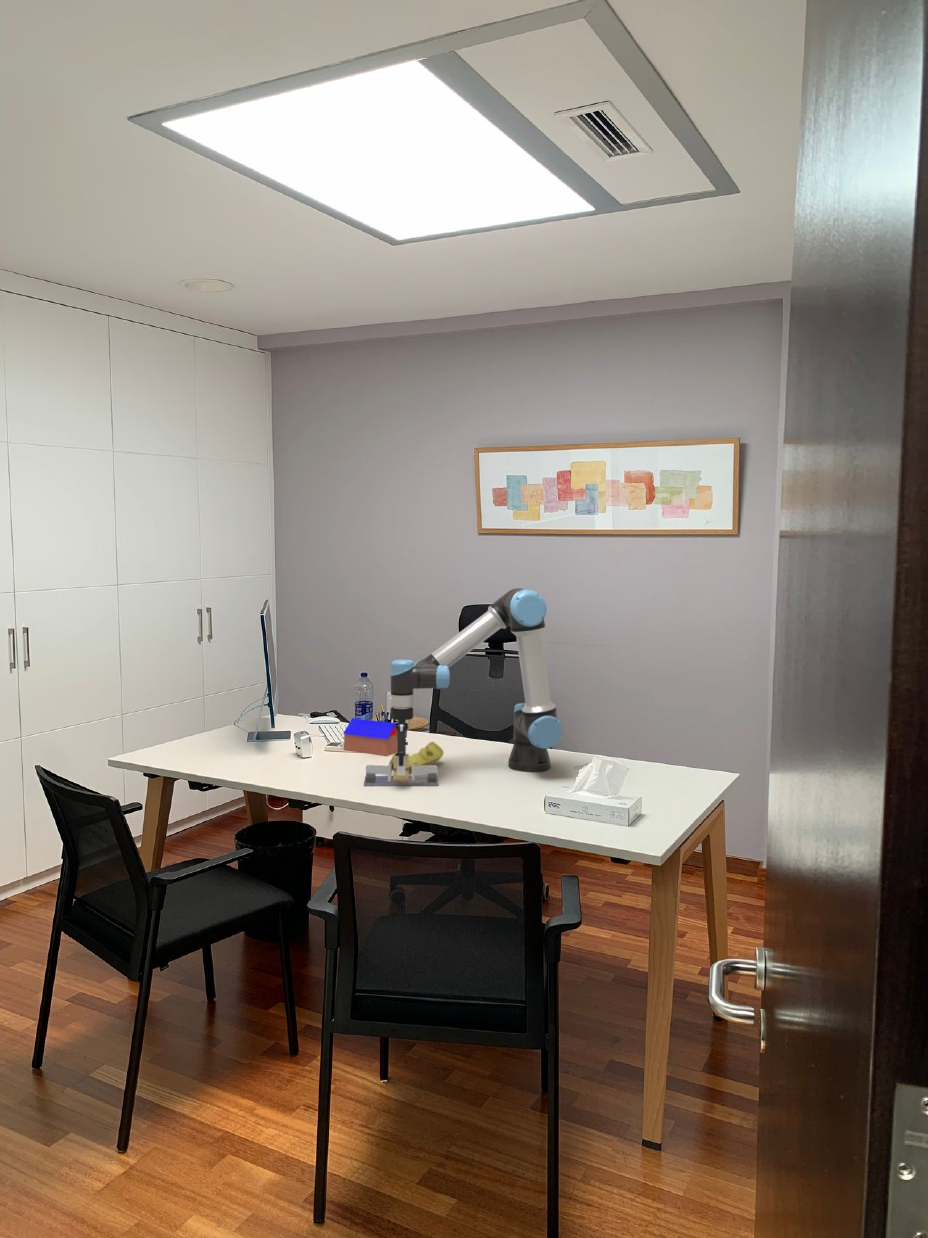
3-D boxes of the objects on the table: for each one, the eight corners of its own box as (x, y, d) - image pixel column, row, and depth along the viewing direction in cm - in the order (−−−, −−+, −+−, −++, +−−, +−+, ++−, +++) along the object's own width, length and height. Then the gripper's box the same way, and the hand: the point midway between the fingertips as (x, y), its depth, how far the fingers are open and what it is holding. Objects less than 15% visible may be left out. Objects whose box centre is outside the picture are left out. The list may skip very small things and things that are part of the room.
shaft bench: (437, 778, 309) (437, 762, 308) (438, 786, 300) (438, 769, 299) (365, 779, 307) (365, 762, 307) (363, 786, 298) (363, 769, 298)
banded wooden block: (408, 777, 306) (408, 754, 305) (408, 781, 301) (408, 757, 300) (393, 777, 306) (393, 754, 305) (393, 781, 301) (393, 757, 300)
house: (387, 757, 339) (387, 726, 338) (343, 750, 349) (342, 720, 348) (404, 750, 350) (404, 720, 349) (360, 744, 359) (360, 715, 358)
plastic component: (411, 768, 314) (391, 752, 319) (405, 785, 317) (386, 768, 322) (448, 754, 329) (429, 738, 334) (443, 770, 332) (424, 754, 337)
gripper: (391, 700, 313) (391, 760, 315) (389, 713, 289) (389, 779, 290) (413, 700, 314) (413, 760, 316) (413, 714, 289) (412, 779, 291)
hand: (401, 770), depth 303 cm, fingers open, 13 cm apart
